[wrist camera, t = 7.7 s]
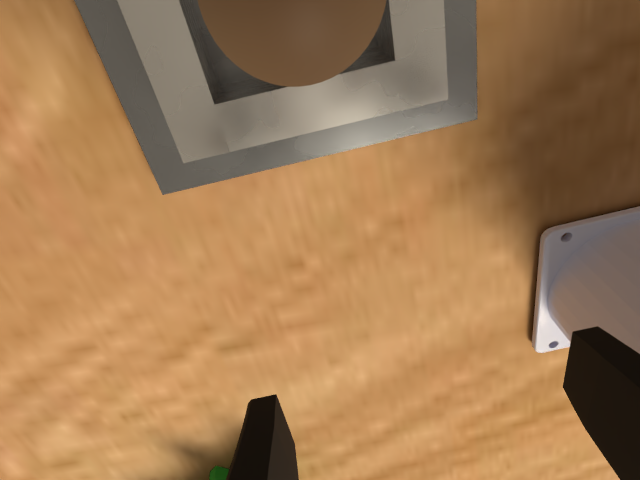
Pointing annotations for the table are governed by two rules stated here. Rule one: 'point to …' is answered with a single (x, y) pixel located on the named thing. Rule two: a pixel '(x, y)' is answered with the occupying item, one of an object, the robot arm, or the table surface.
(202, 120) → the mount
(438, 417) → the table surface
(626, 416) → the robot arm
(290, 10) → the cylinder
